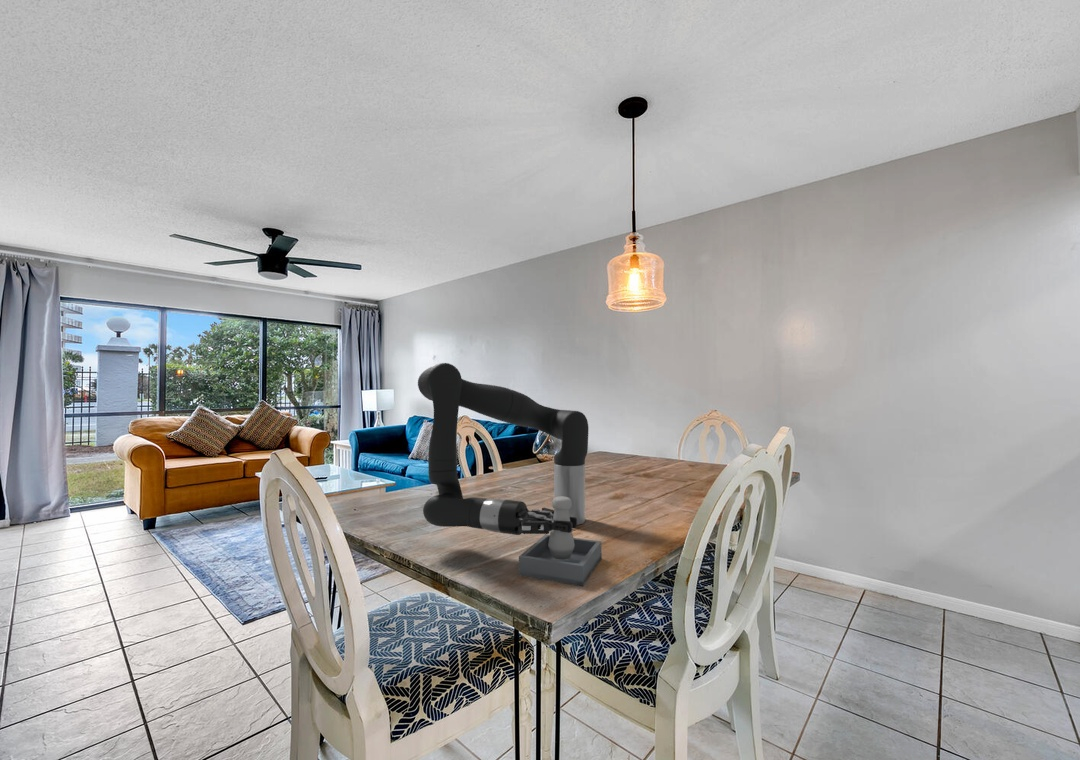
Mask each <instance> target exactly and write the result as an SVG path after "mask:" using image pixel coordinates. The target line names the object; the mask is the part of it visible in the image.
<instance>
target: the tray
mask: <svg viewBox="0 0 1080 760" xmlns="http://www.w3.org/2000/svg"><path fill="white" fill-rule="evenodd" d="M549 538H550V534H543V536H541V537H540V538H539V539H538V540H537V541H536V542H534V543H533V544H532V545H531V546H530V547H528V548H527V549H526V550H525V551H524V552H523V553H521V554H520V555H519V556H518V577H524V578H530V579H535V580H536V579H537V580H543V581H548V582H554V583H561V584H567V585H571V586H572V585H573V586H579V587H584V585H585V584H586V582H587V581H588V580H589V578H590V577H591V575H592V573H593V572H594V571H595V570H596V567H597V566H598V565H599V563H600V562H601V560H602V540H601V541H600V540H593V539H586V538H577V537H573V539H574V545H575V546H574V549H573V552H572V554H571V556H570V558H568V559H564V560H562V559H555V558H554V557H552V555H551V552H550V550H549V547H548V543H549Z"/></svg>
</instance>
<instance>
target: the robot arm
mask: <svg viewBox="0 0 1080 760" xmlns="http://www.w3.org/2000/svg"><path fill="white" fill-rule="evenodd" d="M417 387H418V391H419V392H420V393H421V395H422V396H423V397H424V398H425V399H427V400H428V401H432V405H433V422H432V430H431V435H430V439H429V446H428V453H427V454H428V458H427V459H428V461H427V462H428V465H427V467H428V480H429V482H430V484H433V485H436V488H437V491H438V494H436V495H434V496H432V497H430V498H428V499H427V501H425V503H424V505H423V509H422V512H423V513H422V514H423V517H424V519H425V520H426V521H427V522H428V523H429V524H431V525H432V526H433V525H434V526H436V527H444V528H445V527H450V528H451V527H453V528H455V527H467V528H473V529H481V530H486V531H490V532H493V533H498V534H506V535H507V534H508V535H512V536H513V535H514V536H520V535H537V534H538V535H545V534H546V535H550V532H554V531H555V530H559V531H561V532H568V533H570V532H572V533H573V529H575V528H577V527H578V526H579V525H582V524H584V523H586V515H585V514H586V513H585V512H586V510H585V509H586V475H585V473H586V457H587V455H588V448H589V447H588V446H589V445H588V444H589V421H588V419H587V417H586V415H585V414H584V413H583V412H581V411H579V410H572V409H571V410H570V409H569V410H567V409H558V408H552V407H550V406H544V405H542V404H540V403H538V402H537V401H535V400H534V399H532V398H531V397H530V396H528V395H525V394H524V393H522V392H519V391H516V390H513V389H511V388H508V387H504V386H499V385H494V384H493V385H492V384H484V383H478V382H472V381H468V380H466V379H464V378H462V375H461V373H460V371H459V369H458V368H457V367H456V366H455V365H453V364H451V363H448V362H441V363H438V364H435V365H433V366H430V367H428V368H426V369H425V370H424V371H423V372H421V374H420V375H419V377H418V379H417ZM459 407H461V408H465V409H468V410H470V411H472V412H475V413H478V414H480V415H483V416H486V417H489V418H491V419H494V420H497V421H500V422H504V423H507V424H510V425H514V426H518V427H524V428H530V429H531V428H532V429H534V430H538V431H540V432H543V433H544V434H548V436H552V437H554V438H556V439H558V440H561V448H560V451H558V452H557V453H555V454H554V457H553V459H554V460H553V461H554V462H553V463H554V464H553V468H554V469H553V470H554V471H553V473H554V477H553V478H554V479H553V480H554V481H553V484H554V485H553V487H554V488H553V499H554V498H555V497H559V496H564V497H568V498H570V499H571V502H572V505H571V508H570V509H568V511H569V517H570V521H558V520H556V521H555V520H554V519H553V516H554V510H555V508H553V509H550V508H546V507H542V508H541V510H540V509H539V508H533V509H531V510H529V509H528V507H527V504H526V503H525V502H524V501H522V500H512V499H502V498H485V497H484V498H483V497H467V498H464V496H463V492H462V488H461V483H460V481H459V476H458V458H457V457H458V455H457V454H458V451H457V449H458V448H457V446H458V445H457V441H458V440H457V438H458V437H457V434H458V419H459Z"/></svg>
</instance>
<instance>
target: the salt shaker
mask: <svg viewBox="0 0 1080 760" xmlns="http://www.w3.org/2000/svg"><path fill="white" fill-rule="evenodd" d="M571 505H572V502H571V499H570V498H568V497H564V496H559V497H555V498H554V497H553V499H552V501H551V506H552V509H553V510H554V508H555V510H554V516H553V519H554V520H555V521H556V520H558V521H570V517H569V511H568V509H570V508H571ZM549 535H550V538H549V543H548V547H549V550H550V552H551V555H552V557H554V558H555V559H562V560H564V559H568V558H570V556H571V554H572V552H573V549H574V546H575V545H574V539H573V538H574V534H573V531H572V532H570V533H568V532H561V531H559V530H555V531H554V532H550V531H549Z"/></svg>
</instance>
